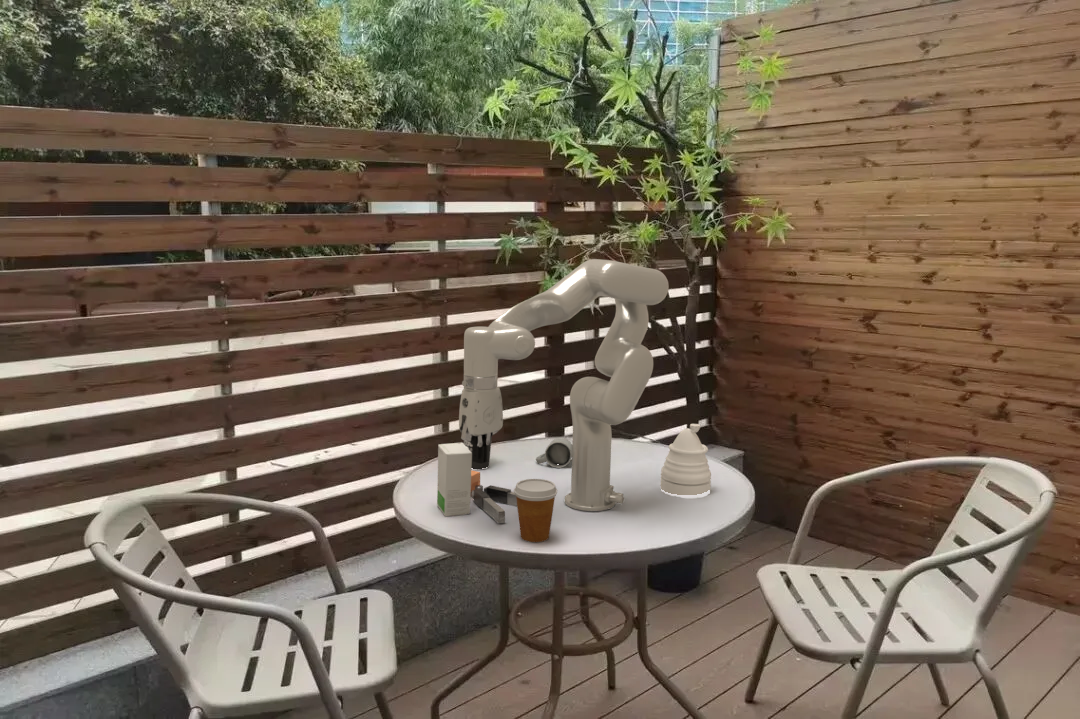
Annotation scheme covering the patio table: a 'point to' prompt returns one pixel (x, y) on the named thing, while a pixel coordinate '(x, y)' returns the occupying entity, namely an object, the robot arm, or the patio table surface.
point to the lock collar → (475, 479)
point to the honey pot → (686, 465)
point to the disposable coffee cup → (535, 508)
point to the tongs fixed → (499, 494)
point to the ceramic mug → (557, 453)
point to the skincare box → (454, 479)
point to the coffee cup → (475, 464)
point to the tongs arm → (488, 505)
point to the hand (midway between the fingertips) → (479, 461)
